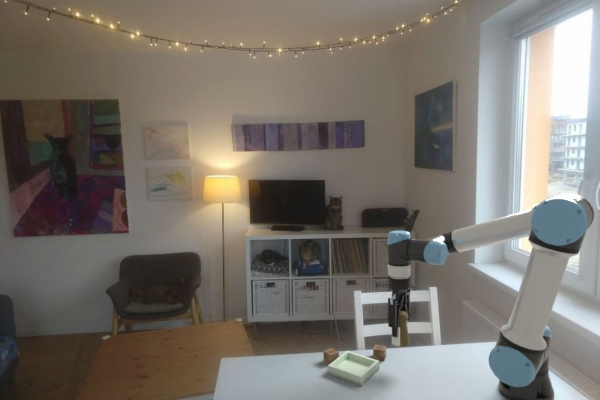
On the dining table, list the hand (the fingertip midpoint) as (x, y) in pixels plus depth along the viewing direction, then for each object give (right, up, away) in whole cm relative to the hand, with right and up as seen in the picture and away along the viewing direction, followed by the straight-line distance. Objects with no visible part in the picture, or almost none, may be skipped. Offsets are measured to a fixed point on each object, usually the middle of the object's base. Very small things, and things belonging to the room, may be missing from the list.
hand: (400, 341), depth 140 cm
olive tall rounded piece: (0, -1, 0) cm, 1 cm away
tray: (-16, -11, +1) cm, 19 cm away
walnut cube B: (-23, -10, +8) cm, 27 cm away
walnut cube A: (-5, -10, +10) cm, 15 cm away
